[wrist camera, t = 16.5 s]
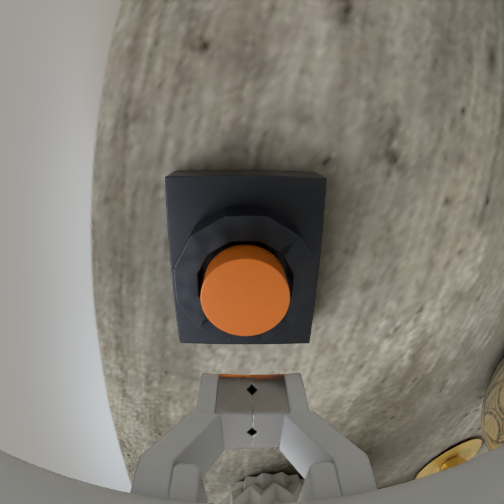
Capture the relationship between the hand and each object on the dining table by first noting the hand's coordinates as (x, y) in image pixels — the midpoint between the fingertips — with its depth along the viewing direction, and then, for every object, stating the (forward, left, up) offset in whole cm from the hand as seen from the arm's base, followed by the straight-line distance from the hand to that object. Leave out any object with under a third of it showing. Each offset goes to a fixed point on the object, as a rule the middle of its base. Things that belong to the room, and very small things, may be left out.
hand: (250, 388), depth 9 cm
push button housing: (0, 0, -11) cm, 11 cm away
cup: (+34, +31, -11) cm, 47 cm away
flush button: (0, 0, -7) cm, 7 cm away
